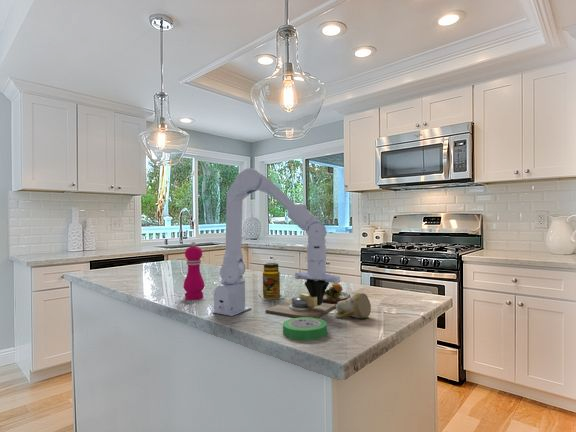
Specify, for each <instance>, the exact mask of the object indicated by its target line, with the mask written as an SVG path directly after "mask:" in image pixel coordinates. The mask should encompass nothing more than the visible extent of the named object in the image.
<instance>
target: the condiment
mask: <svg viewBox="0 0 576 432" xmlns="http://www.w3.org/2000/svg"><path fill="white" fill-rule="evenodd" d="M279 269H280V268H279V264H278V263H277V262H269V263H268V262H267V263H263V272H262V294H259V296H260V297H261V299H262V300H264V301H267V300H278V299H285V297H283V296H282V294H281V277H280V274H281V273H280V272H281V271H279Z"/></svg>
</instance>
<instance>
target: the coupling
mask: <svg viewBox="0 0 576 432" xmlns="http://www.w3.org/2000/svg"><path fill="white" fill-rule="evenodd" d="M291 299H292V306H293V307H299V308H304V307H317V297H316V296H312V295H310V294H307V293H299V296H294V297H291Z"/></svg>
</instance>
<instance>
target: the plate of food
mask: <svg viewBox="0 0 576 432" xmlns="http://www.w3.org/2000/svg"><path fill="white" fill-rule="evenodd" d="M341 280H342V279H340V282H341ZM350 297H351V295H350V294H349V293H345V292H343V287H342V284H340V283H337V284H336V283H331V286H330V287H329V288H328V289H326V290H325V293H324V296H323V300H322V301H324V302H325V301H326V302H325V303H326V304H332V303H333V304H334V302H336V304H337V303H338V302H339V301H344V300H347V299H348V298H350Z"/></svg>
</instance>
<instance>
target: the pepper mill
mask: <svg viewBox="0 0 576 432" xmlns="http://www.w3.org/2000/svg"><path fill="white" fill-rule="evenodd" d="M184 255H185V258H186V265H187V273H186V276H185V279H184V282H183V289H184V290H185V293H184V298H185V300H188V301H194V300H195V301H196V300H197V301H198V300H201V299H203V298H204V292H203V290H204V288H205V281H204V278H203V276H202V274H201V269H200V267H201V264H202V262H201V261H202V260H201V258H202V256H203V250H202V249H201V247H199V246H197V243H196V242H195V241H192V242H191V243H190V246H189V247H187V248H186V249H185V252H184Z"/></svg>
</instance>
